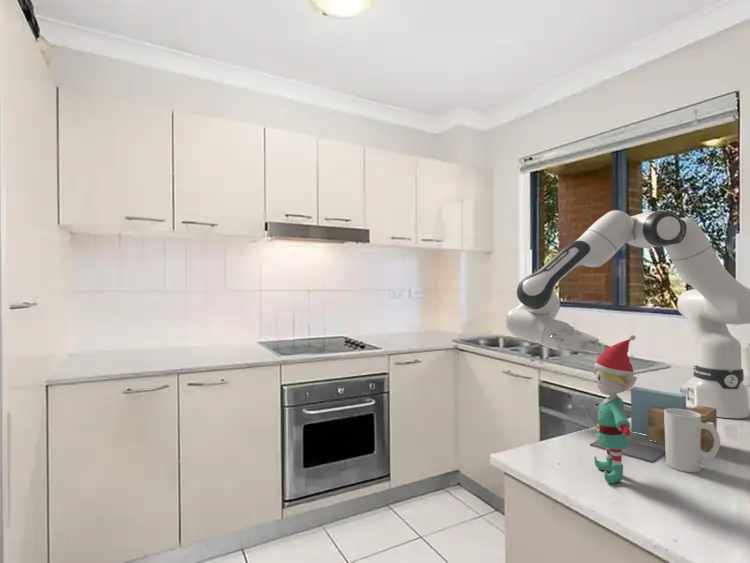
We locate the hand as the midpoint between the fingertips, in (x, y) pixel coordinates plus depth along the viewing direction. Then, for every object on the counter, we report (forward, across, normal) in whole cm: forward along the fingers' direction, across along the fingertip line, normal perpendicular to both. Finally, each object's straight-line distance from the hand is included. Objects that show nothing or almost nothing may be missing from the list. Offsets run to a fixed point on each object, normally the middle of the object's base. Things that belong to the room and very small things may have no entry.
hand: (607, 350), depth 125 cm
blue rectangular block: (+17, +3, +18) cm, 25 cm away
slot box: (+22, +2, +17) cm, 28 cm away
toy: (+14, -31, +22) cm, 41 cm away
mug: (+26, -16, +18) cm, 35 cm away
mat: (+13, -12, +21) cm, 27 cm away
